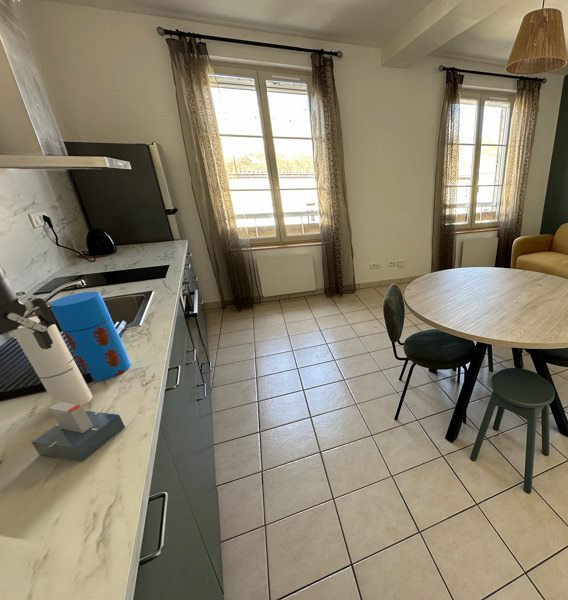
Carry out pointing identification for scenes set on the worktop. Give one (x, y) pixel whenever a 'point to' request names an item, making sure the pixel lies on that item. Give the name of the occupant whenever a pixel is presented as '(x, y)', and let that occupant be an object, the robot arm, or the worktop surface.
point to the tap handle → (71, 417)
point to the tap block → (79, 437)
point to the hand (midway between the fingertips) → (19, 359)
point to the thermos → (91, 334)
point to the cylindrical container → (54, 366)
